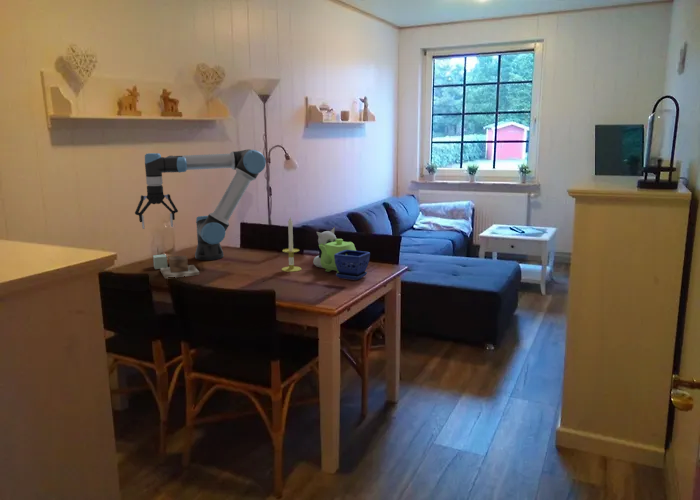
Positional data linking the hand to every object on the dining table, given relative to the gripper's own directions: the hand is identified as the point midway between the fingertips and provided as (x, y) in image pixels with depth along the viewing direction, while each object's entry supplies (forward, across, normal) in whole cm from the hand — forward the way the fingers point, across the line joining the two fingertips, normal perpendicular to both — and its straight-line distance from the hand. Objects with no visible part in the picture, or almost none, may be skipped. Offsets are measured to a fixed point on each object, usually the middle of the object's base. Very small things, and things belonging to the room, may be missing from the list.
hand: (157, 227), depth 278 cm
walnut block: (+19, -7, +16) cm, 26 cm away
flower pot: (+20, -78, +61) cm, 102 cm away
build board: (+20, -7, +16) cm, 27 cm away
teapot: (+20, -76, +44) cm, 90 cm away
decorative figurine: (+21, -78, +34) cm, 87 cm away
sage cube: (+21, 0, 0) cm, 21 cm away
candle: (+21, -58, +33) cm, 70 cm away
